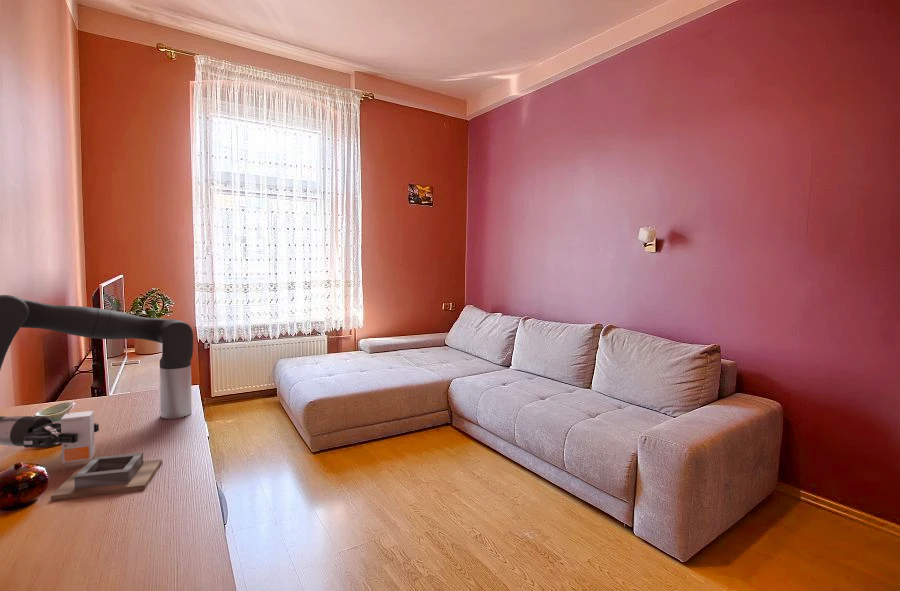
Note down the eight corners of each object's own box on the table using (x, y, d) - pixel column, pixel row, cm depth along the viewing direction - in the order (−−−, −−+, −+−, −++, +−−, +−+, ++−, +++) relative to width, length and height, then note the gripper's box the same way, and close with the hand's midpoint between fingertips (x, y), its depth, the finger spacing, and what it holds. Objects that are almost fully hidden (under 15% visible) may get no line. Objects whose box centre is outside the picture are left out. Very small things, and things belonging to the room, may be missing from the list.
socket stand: (80, 471, 112) (79, 455, 112) (161, 463, 118) (161, 448, 117) (50, 500, 99) (50, 482, 98) (144, 489, 105) (144, 472, 104)
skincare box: (61, 464, 112) (59, 418, 111) (66, 457, 116) (64, 413, 115) (91, 460, 115) (89, 415, 114) (96, 453, 119) (94, 410, 117)
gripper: (-7, 427, 107) (63, 429, 107) (46, 407, 121) (108, 409, 122) (-5, 457, 108) (64, 459, 108) (48, 433, 122) (109, 435, 122)
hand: (87, 432), depth 115 cm, fingers closed on skincare box, 6 cm apart
